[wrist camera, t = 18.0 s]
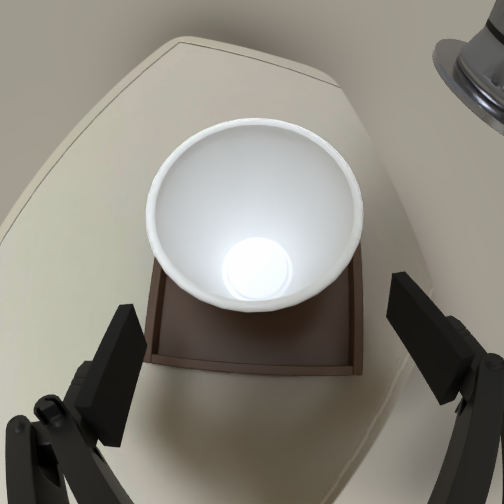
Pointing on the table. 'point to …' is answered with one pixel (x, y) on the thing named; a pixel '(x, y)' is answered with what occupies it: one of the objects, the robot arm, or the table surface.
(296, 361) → the square brown tray
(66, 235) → the table surface
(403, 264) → the table surface
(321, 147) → the cup
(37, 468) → the robot arm
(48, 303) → the table surface
